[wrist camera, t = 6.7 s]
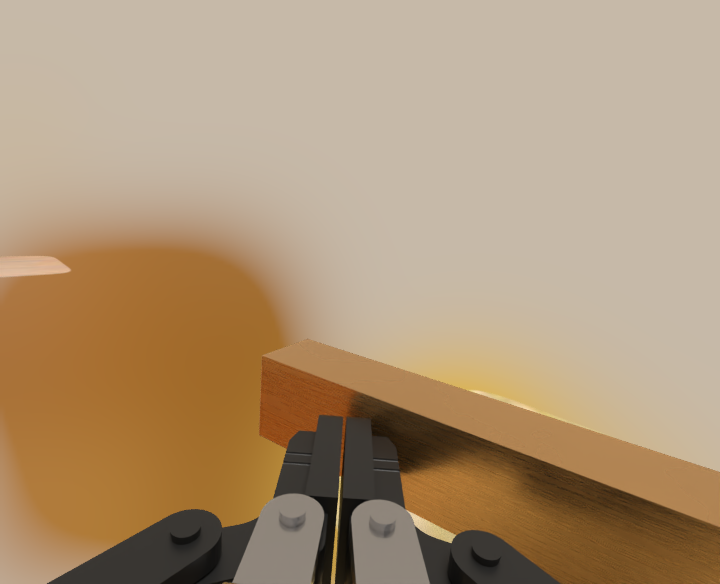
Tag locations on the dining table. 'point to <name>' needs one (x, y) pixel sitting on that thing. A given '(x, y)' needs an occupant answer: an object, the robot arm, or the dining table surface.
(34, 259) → the dining table surface
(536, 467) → the wooden handled mallet
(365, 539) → the robot arm
